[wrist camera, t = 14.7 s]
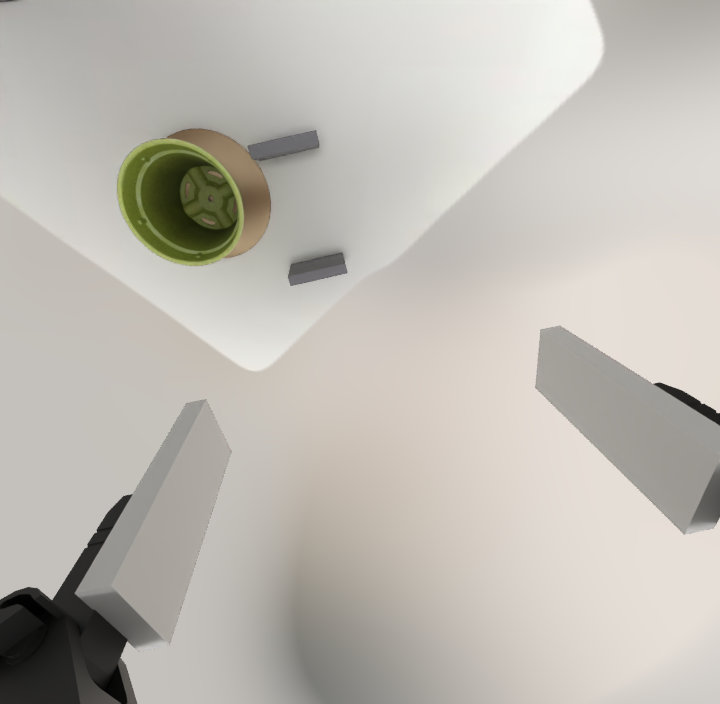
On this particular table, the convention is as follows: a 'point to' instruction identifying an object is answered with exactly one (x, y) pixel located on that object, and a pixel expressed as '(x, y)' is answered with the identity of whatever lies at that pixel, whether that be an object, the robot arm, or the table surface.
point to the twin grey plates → (317, 266)
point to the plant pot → (180, 202)
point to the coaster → (244, 176)
